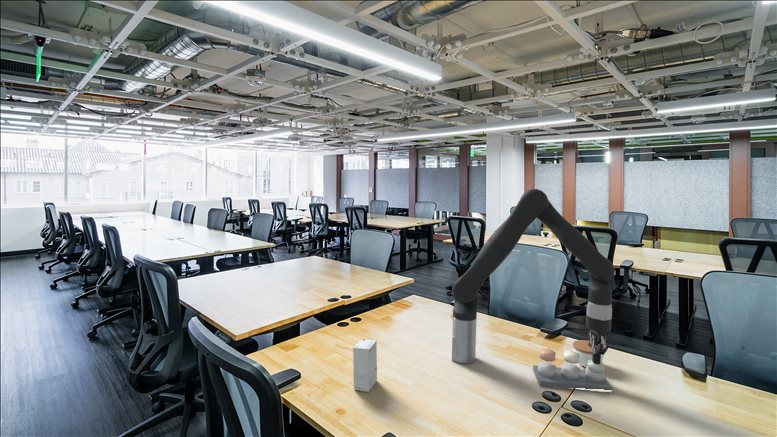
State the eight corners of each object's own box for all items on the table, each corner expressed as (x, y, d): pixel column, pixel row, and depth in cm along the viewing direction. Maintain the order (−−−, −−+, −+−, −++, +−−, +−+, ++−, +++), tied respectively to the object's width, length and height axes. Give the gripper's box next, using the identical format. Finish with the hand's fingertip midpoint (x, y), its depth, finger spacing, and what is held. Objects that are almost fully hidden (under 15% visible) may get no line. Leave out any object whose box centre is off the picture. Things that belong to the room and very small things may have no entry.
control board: (539, 386, 126) (540, 372, 126) (532, 370, 137) (533, 357, 137) (612, 393, 122) (613, 379, 122) (599, 376, 133) (600, 363, 132)
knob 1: (541, 360, 128) (542, 354, 128) (538, 354, 133) (538, 348, 133) (556, 362, 127) (557, 355, 127) (553, 355, 132) (553, 349, 132)
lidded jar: (568, 357, 148) (569, 334, 147) (597, 359, 146) (598, 337, 145) (576, 370, 137) (577, 346, 136) (607, 373, 135) (609, 349, 134)
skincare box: (369, 393, 122) (369, 350, 120) (352, 389, 123) (352, 347, 122) (377, 380, 130) (377, 339, 128) (361, 377, 131) (361, 337, 130)
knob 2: (590, 372, 126) (590, 365, 125) (585, 365, 131) (585, 359, 130) (606, 373, 125) (606, 367, 125) (600, 366, 130) (600, 360, 129)
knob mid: (565, 362, 127) (566, 356, 127) (561, 356, 132) (562, 349, 132) (581, 364, 126) (581, 357, 126) (576, 357, 131) (577, 351, 131)
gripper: (580, 308, 133) (578, 353, 135) (594, 321, 120) (591, 371, 122) (603, 309, 132) (600, 355, 133) (619, 322, 119) (616, 373, 120)
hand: (596, 363), depth 127 cm, fingers closed
